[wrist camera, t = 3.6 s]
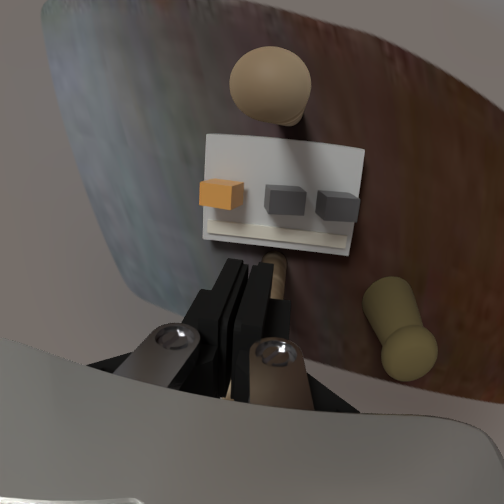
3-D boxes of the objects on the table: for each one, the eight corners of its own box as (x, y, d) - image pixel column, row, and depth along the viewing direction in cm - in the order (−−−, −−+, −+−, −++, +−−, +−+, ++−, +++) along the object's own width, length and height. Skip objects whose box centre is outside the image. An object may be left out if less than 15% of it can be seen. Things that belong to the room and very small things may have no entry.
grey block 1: (299, 186, 28) (306, 192, 26) (296, 208, 29) (304, 215, 27) (265, 184, 28) (270, 190, 25) (263, 206, 28) (268, 214, 26)
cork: (390, 331, 35) (412, 399, 24) (351, 309, 34) (365, 377, 24) (423, 292, 32) (459, 353, 22) (384, 266, 32) (415, 326, 22)
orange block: (244, 182, 28) (231, 186, 26) (242, 204, 29) (230, 210, 26) (213, 178, 29) (200, 182, 27) (213, 199, 30) (199, 204, 27)
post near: (303, 100, 27) (313, 50, 9) (301, 127, 28) (307, 126, 10) (275, 97, 27) (232, 45, 9) (273, 124, 28) (226, 119, 10)
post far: (288, 252, 33) (270, 406, 14) (285, 275, 34) (265, 436, 15) (262, 249, 33) (217, 399, 15) (260, 272, 34) (217, 428, 16)
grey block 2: (349, 192, 28) (360, 199, 25) (346, 214, 28) (356, 222, 26) (317, 190, 27) (327, 196, 25) (314, 212, 28) (323, 220, 26)
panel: (360, 148, 28) (365, 150, 26) (345, 248, 32) (348, 257, 30) (212, 133, 29) (205, 134, 27) (208, 232, 33) (201, 239, 31)
